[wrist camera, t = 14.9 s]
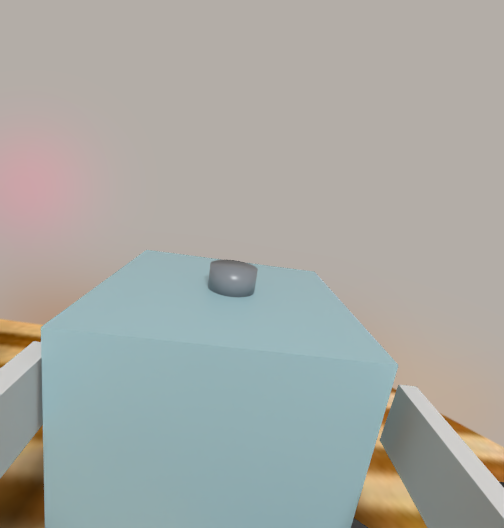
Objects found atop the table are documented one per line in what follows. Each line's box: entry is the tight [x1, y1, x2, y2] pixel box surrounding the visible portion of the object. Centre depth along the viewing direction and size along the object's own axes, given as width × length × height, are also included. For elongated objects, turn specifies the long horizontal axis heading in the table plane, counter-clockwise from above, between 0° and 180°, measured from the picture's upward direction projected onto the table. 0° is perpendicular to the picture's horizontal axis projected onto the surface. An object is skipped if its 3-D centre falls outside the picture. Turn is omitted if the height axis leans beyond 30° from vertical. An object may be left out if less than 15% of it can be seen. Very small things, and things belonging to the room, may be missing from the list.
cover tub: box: [41, 250, 398, 528], centre depth 17 cm, size 12×12×11 cm
